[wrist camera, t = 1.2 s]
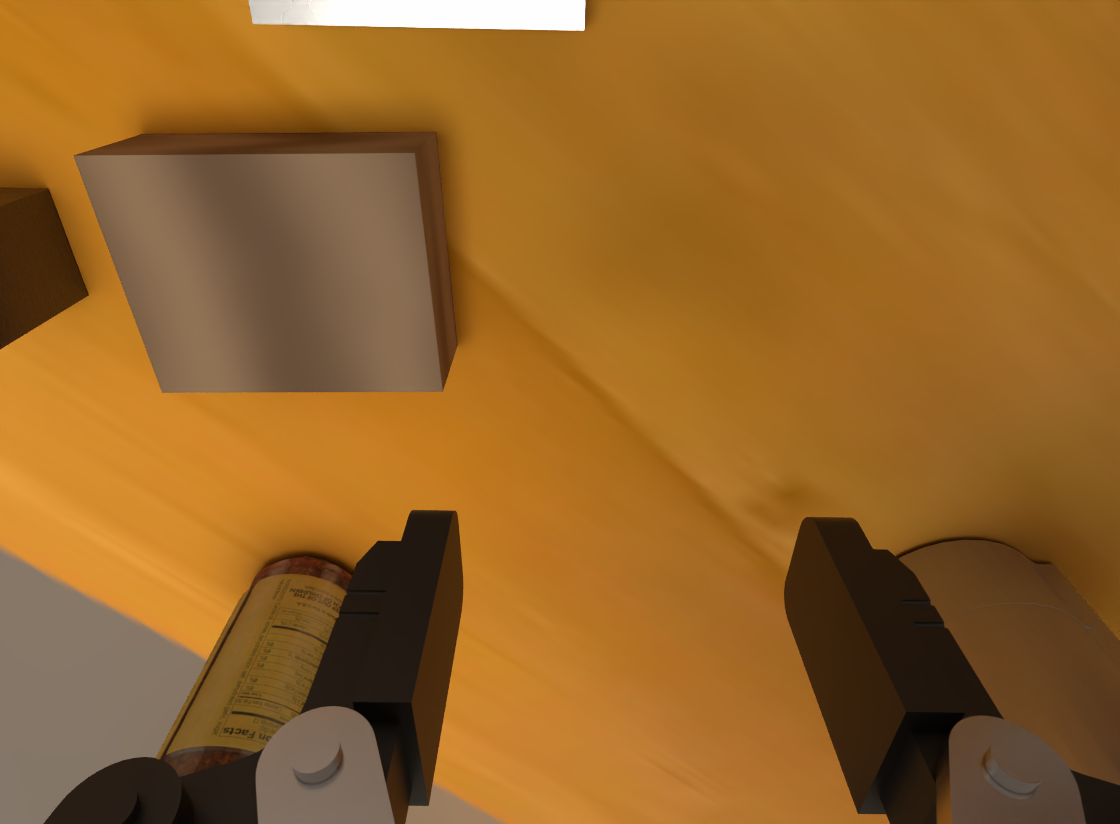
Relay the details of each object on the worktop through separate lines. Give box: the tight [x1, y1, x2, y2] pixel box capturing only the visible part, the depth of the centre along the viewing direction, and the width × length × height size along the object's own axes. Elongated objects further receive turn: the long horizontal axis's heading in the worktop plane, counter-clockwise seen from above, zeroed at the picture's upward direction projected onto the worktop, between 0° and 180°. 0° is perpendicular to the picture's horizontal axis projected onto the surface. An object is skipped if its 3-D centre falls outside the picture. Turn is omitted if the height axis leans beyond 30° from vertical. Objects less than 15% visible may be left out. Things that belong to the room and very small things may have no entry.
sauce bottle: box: [156, 556, 352, 777], centre depth 26 cm, size 6×6×20 cm
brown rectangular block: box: [74, 132, 457, 393], centre depth 23 cm, size 10×8×4 cm
